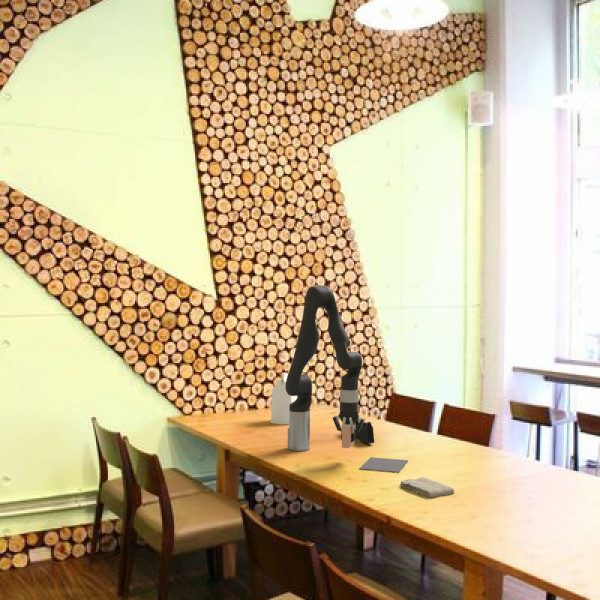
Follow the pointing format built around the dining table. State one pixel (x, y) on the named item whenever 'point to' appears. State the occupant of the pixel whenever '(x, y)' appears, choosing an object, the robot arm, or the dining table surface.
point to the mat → (384, 464)
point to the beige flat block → (346, 436)
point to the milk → (281, 402)
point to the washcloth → (427, 487)
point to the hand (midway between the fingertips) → (348, 441)
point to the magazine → (365, 432)
